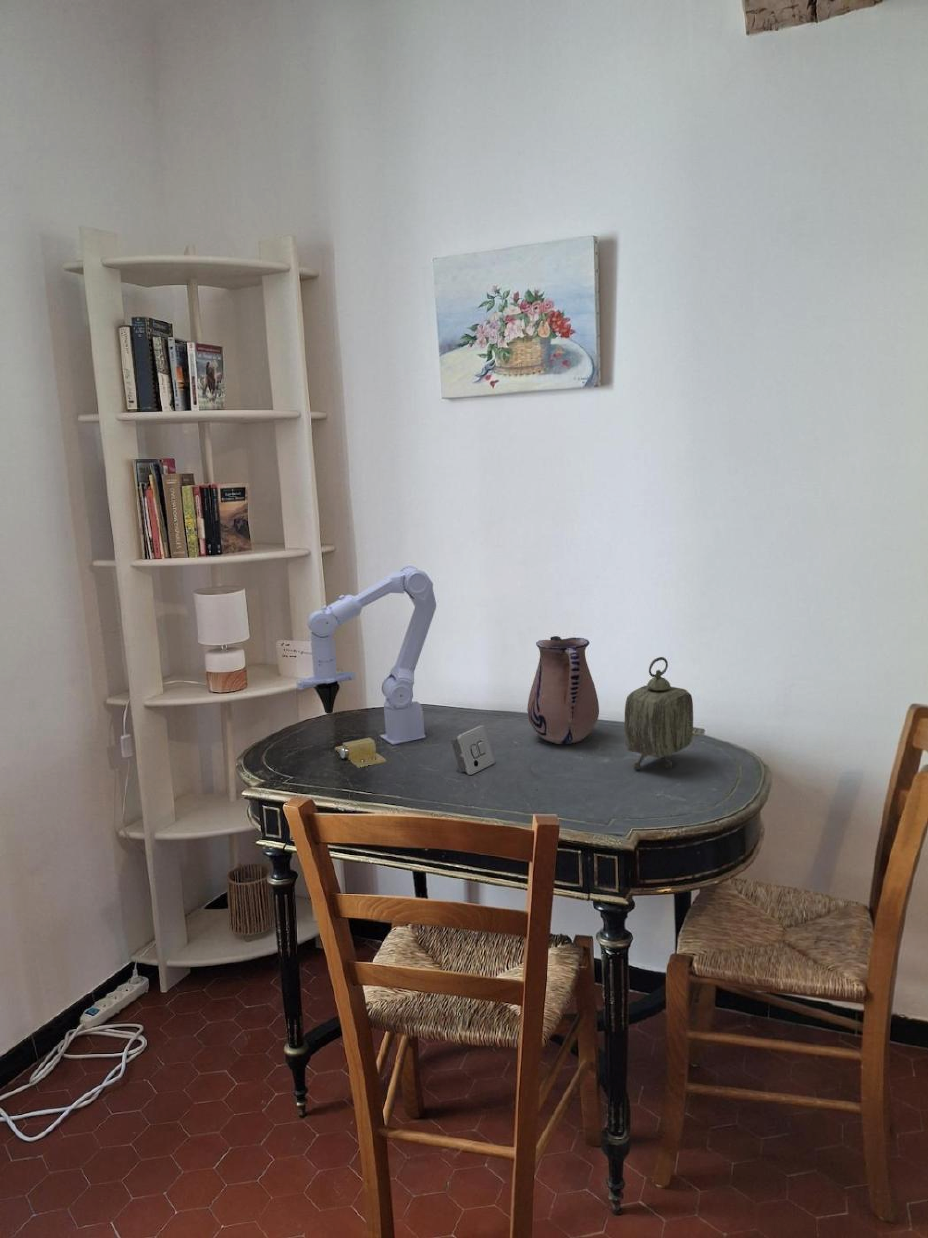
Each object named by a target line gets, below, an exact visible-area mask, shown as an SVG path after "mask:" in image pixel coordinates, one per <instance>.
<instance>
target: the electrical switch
mask: <svg viewBox="0 0 928 1238" xmlns="http://www.w3.org/2000/svg"><path fill="white" fill-rule="evenodd" d="M450 742H451V745H452V749H453V751H454V755H455V760H456V763H457V766H458V769H459V772H460V773H467V774H468V776H470V775H474V774H476V773H478V772H479V771H482V770H484V769H486V768H488V767H491V765H494V764H495V757H494V754H493V750H492V746H491V743H490V739H489V736H488V733H487V730H486V726H484V725H479V726H476V727H474V728H472V729H470V730H467V731H466V732H464V733H463V732H462V733H461V734H458V735H457V737H454V738H452V739H451V740H450Z"/></svg>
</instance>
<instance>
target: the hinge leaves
mask: <svg viewBox="0 0 928 1238" xmlns="http://www.w3.org/2000/svg"><path fill="white" fill-rule="evenodd" d="M375 744H376V741H375V740H374V739H373V738H371V737H366V738H365V737H364V738H361V739H356V740H351V741H347V742H342V745H340V746H339V745H338V746H335V747H334V750H335V749H336V750H337V751H336V750H335V751H336V752H338V753H339V754H340V748H342V747H344V748H345V749H347V751H348V755H346V758H347V760H348V761H349V760H350V761H351V762H350V761H349V762H350V763H351V764H353V765H354V766H355V765H356V767H357V768H358V769H360V767H361V768H364V766H365V767H369V766H368V765H370V766H374V765H379V764H382V763H387V760H386V758H384V757H383V756H382V755H380V754H379V753H377V747H376V748H375ZM346 758H345V759H346Z"/></svg>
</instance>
